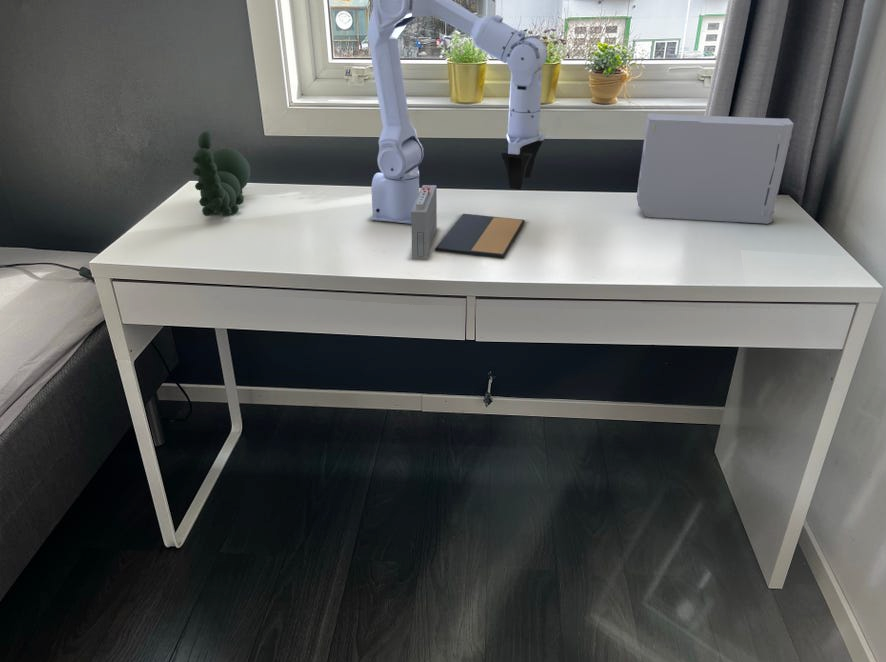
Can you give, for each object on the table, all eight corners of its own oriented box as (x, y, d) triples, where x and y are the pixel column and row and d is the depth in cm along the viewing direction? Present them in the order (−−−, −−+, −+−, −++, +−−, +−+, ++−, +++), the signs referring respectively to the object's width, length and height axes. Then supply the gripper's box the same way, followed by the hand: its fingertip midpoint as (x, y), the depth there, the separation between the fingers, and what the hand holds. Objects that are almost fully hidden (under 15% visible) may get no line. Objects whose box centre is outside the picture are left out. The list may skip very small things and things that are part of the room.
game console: (773, 225, 154) (796, 125, 144) (636, 217, 158) (649, 119, 148) (767, 215, 159) (789, 118, 149) (635, 208, 163) (647, 113, 153)
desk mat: (435, 251, 142) (435, 247, 141) (463, 216, 158) (463, 213, 158) (503, 258, 138) (503, 255, 138) (524, 222, 155) (524, 219, 155)
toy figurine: (238, 233, 154) (260, 185, 174) (223, 141, 143) (247, 101, 163) (191, 233, 153) (218, 185, 174) (172, 142, 142) (203, 102, 163)
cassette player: (423, 229, 152) (422, 179, 147) (436, 229, 151) (436, 180, 146) (412, 259, 138) (410, 206, 133) (426, 259, 138) (426, 206, 133)
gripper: (537, 119, 131) (532, 196, 138) (554, 103, 143) (548, 174, 150) (498, 116, 133) (495, 192, 140) (517, 100, 145) (513, 170, 152)
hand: (520, 182), depth 145 cm, fingers open, 7 cm apart
